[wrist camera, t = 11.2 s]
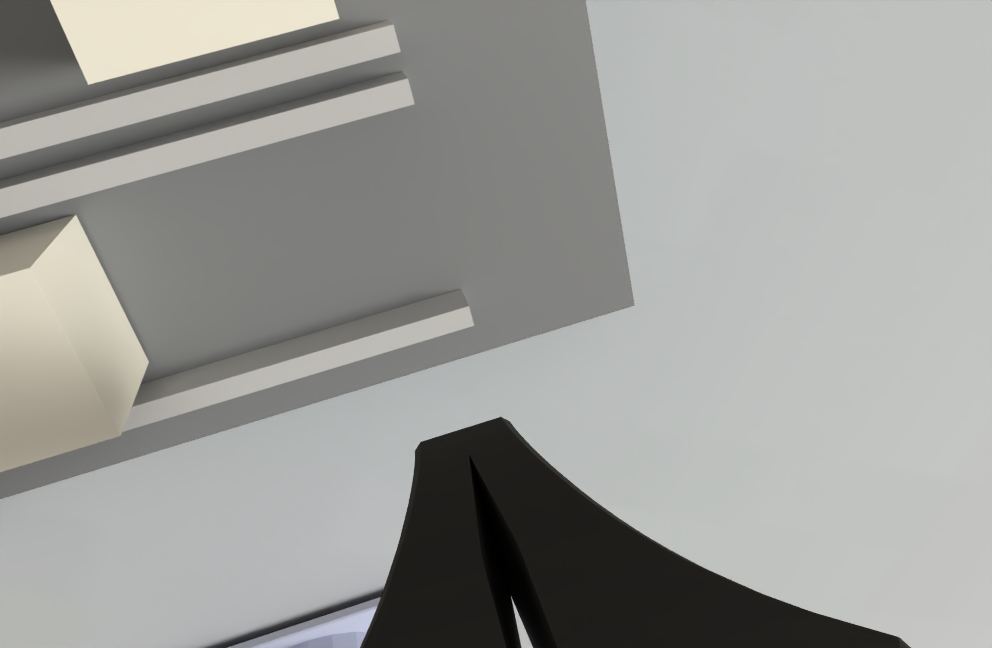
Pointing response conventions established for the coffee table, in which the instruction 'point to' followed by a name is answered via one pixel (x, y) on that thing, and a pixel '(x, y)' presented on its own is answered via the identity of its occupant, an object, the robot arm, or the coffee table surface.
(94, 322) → the tab
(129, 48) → the tab
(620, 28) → the coffee table surface
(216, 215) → the switch board
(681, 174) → the coffee table surface
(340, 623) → the robot arm
